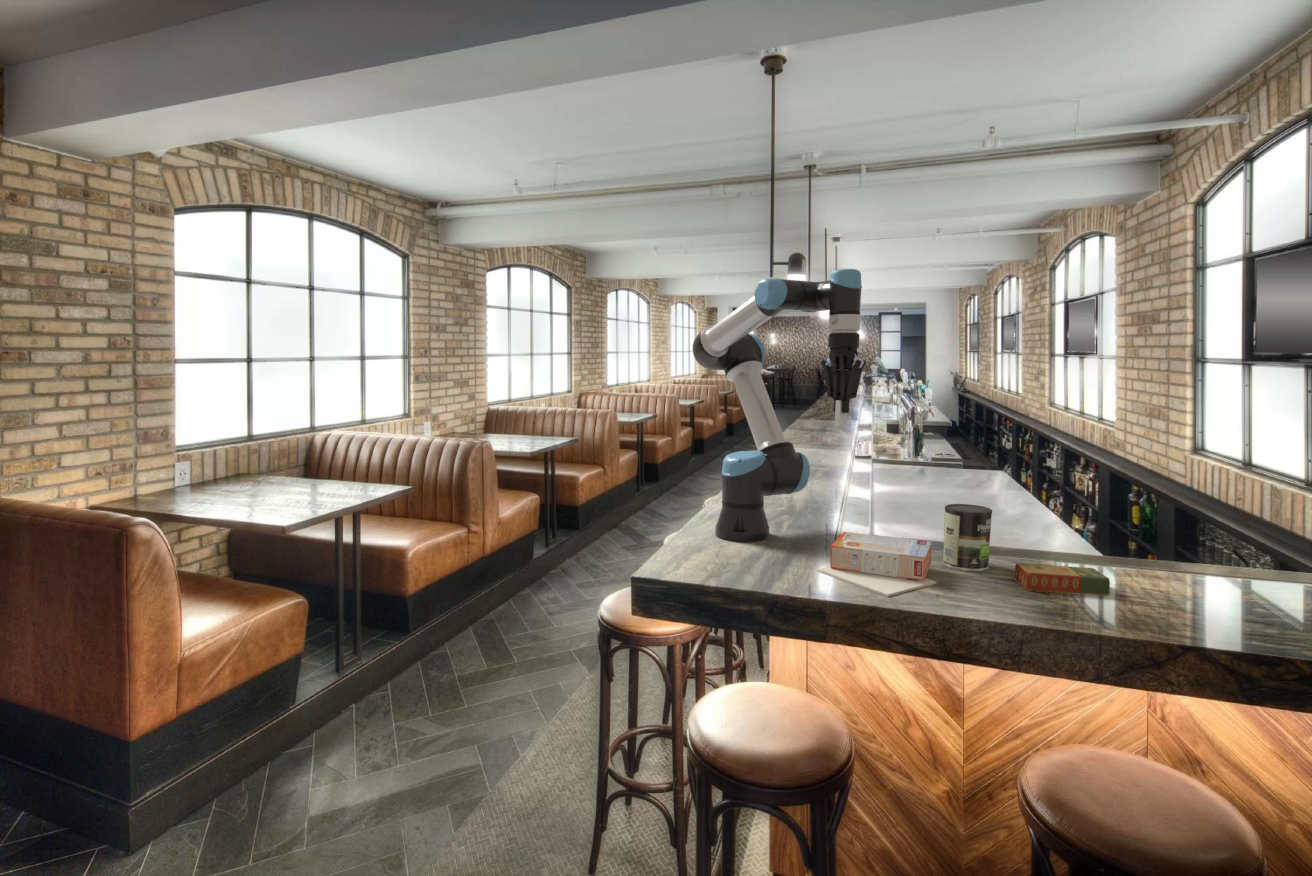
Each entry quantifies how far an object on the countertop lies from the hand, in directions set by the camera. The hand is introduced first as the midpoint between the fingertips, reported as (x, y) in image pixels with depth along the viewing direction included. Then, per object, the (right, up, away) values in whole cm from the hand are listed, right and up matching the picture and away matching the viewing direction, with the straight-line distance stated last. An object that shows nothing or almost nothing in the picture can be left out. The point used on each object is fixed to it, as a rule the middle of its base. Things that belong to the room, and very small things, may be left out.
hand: (840, 425), depth 171 cm
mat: (+2, -35, -19) cm, 40 cm away
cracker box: (-4, -30, -9) cm, 32 cm away
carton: (+41, -36, -25) cm, 60 cm away
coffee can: (+27, -34, -10) cm, 45 cm away
